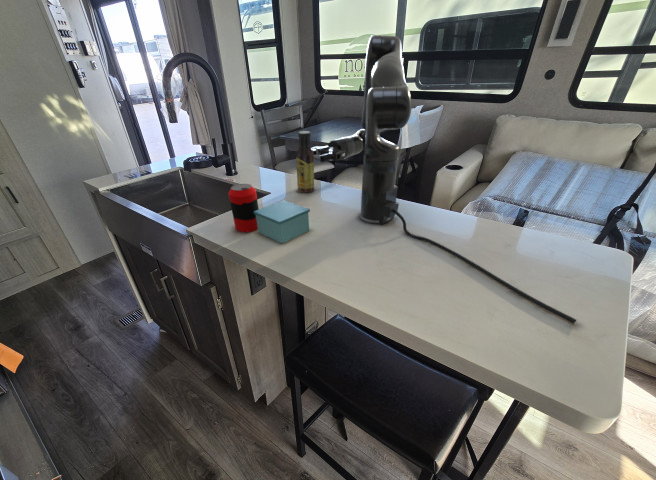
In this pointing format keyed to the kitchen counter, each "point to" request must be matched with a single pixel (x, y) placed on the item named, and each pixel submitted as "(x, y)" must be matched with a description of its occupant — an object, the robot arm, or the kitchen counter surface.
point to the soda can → (244, 207)
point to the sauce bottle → (305, 163)
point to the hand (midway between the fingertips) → (312, 157)
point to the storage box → (282, 221)
